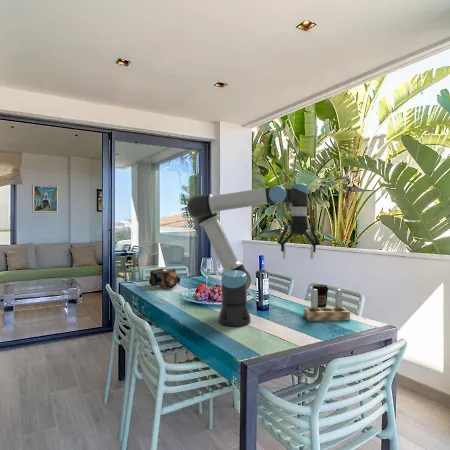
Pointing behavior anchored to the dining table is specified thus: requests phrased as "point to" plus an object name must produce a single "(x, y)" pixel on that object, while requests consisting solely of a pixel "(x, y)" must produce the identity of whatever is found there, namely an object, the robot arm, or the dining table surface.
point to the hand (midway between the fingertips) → (297, 258)
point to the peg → (314, 299)
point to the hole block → (326, 314)
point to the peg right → (338, 299)
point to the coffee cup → (321, 295)
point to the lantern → (164, 278)
